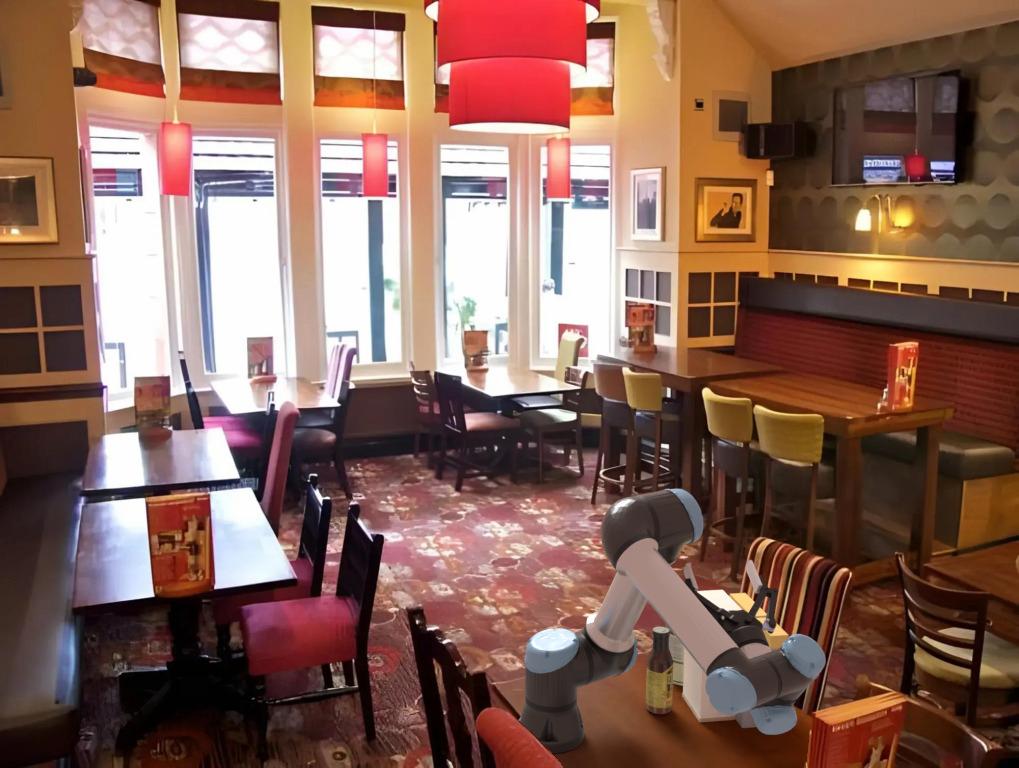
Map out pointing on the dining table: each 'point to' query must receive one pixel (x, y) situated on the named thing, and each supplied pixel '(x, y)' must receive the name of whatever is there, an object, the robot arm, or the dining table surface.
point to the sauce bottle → (659, 673)
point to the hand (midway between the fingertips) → (717, 565)
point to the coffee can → (677, 658)
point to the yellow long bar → (761, 620)
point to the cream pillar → (696, 676)
